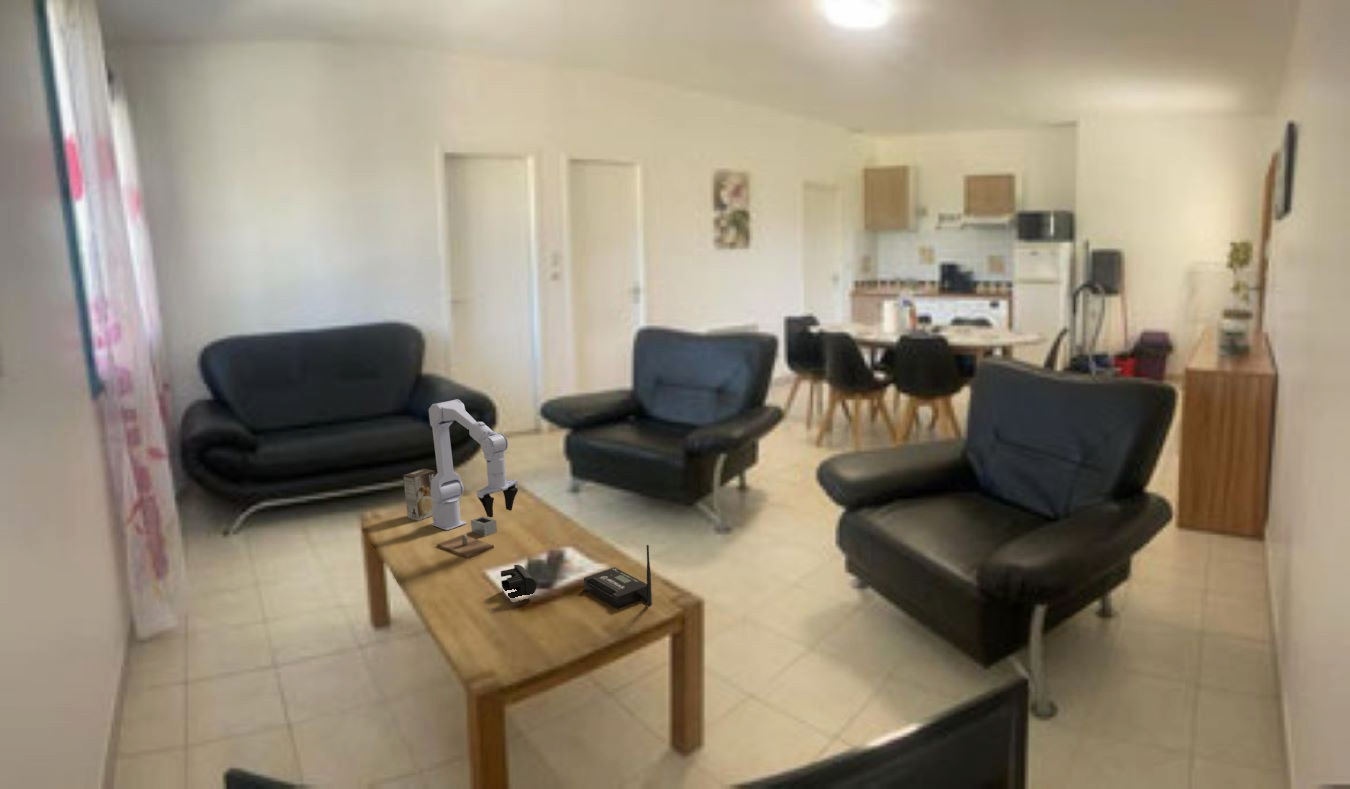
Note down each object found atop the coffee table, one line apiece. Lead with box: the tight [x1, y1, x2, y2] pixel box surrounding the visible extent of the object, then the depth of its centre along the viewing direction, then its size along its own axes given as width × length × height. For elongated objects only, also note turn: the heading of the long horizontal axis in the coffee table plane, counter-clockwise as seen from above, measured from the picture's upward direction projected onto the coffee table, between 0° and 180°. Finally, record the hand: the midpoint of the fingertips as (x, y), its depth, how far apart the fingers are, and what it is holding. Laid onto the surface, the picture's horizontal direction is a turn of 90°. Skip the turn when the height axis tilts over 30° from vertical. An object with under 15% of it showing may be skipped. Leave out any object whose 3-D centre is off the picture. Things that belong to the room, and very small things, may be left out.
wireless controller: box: [583, 544, 653, 610], centre depth 214 cm, size 20×14×17 cm
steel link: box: [470, 515, 498, 537], centre depth 266 cm, size 7×5×4 cm
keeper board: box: [436, 533, 495, 559], centre depth 253 cm, size 16×10×4 cm, turn 50°
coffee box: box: [402, 468, 436, 522], centre depth 282 cm, size 9×6×16 cm
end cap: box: [500, 564, 537, 598], centre depth 218 cm, size 10×7×7 cm
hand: (499, 513), depth 254 cm, fingers open, 7 cm apart
